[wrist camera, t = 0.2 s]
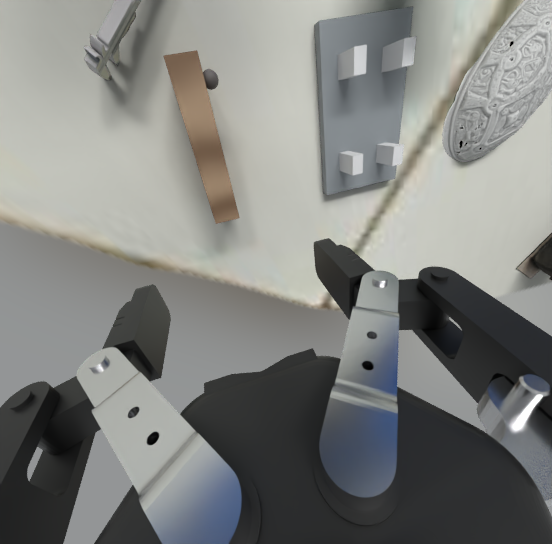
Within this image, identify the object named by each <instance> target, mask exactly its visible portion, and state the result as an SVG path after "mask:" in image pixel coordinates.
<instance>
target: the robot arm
mask: <svg viewBox="0 0 552 544" xmlns="http://www.w3.org/2000/svg"><path fill="white" fill-rule="evenodd" d="M314 256H315V268H316V272H317V275H318V278H319V279H320V281H321V282H322V283H323V285H324V286H325V287H326V289H327V290H328V292H329V293H330V294H331V296H332V297H333V298H334V300H335V301H336V303H337V304H338V305H339V307H340V308H341V309H342V311H343V312H344V314H345V315H346V316H347V318H348V319H349V320H350V322H349V327H348V330H347V335H346V339H345V343H344V347H343V351H342V356H341V359H339V358H335V357H330V356H316V354H315V352H314V350H313V349H309V350H306V351H303V352H300V353H297V354H294V355H290V356H287V357H286V358H284V359H282V360H280V361H279V362H277V363H275V364H274V365H272V366H270V367H269V368H267V369H265V370H263V371H261V372H252V373H240V374H231V375H228V376H225V377H222V378H219V379H216V380H212V381H209V382H206V383H204V393H203V394H202V395H200V396H199V397H197V398H196V399H195V400H193V401H192V402H191V403H190V404H189V405H188V406H187V407H186V408H185V409H184V410H183V411H182V412H181V414H179V413H178V412H177V411H176V410H175V409H174V407H173V406H172V405H171V404H170V403H169V402H168V401H167V400H166V399H165V398H164V397H163V396H162V394H161V393H160V392H159V391H158V390H157V389H156V388H155V387H154V386H153V385H152V384H151V383H150V381H152V380H155V379H158V378H161V375H162V369H163V363H164V357H165V351H166V345H167V339H168V333H169V326H170V321H171V319H170V313H169V310H168V308H167V306H166V304H165V302H164V300H163V298H162V297H161V295H160V293H159V291H158V289H157V288H156V286H155V285H149V286H145V287H142V288H138V289H136V290H135V292H134V295H133V297H132V300H131V301H129V302H127V303H126V304H125V305H124V306H123V307H122V308H121V310H120V311H119V313H118V315H117V317H116V320H115V322H114V324H113V327H112V329H111V331H110V333H109V336H108V338H107V340H106V342H105V344H104V347H103V349H102V350H100V351H98V352H96V353H94V354H93V355H91V356H90V357H89V358H87V359H86V360H85V361H84V362H83V363H82V365H81V366H80V368H79V369H78V371H77V376H76V377H74V378H72V379H70V380H68V381H66V382H64V383H62V384H60V385H58V386H56V387H55V388H53V387H51V386H50V385H49V384H48V383H47V382H36V383H33V384H30V385H28V386H26V387H24V388H23V389H21V390H20V391H18V392H17V393H15V394H14V395H13V396H11V397H10V398H9V399H8V400H7V401H6V402H5V403H4V404H3V405H2V406H1V408H0V544H63V542H64V539H65V536H66V532H67V529H68V525H69V522H70V518H71V515H72V511H73V508H74V505H75V501H76V498H77V494H78V490H79V487H80V484H81V481H82V477H83V474H84V470H85V467H86V463H87V460H88V456H89V453H90V450H91V446H92V443H93V439H94V436H95V433H96V432H97V431H98V430H100V429H102V431H103V433H104V434H105V436H106V438H107V440H108V441H109V443H110V445H111V447H112V448H113V450H114V451H115V454H116V455H117V457H118V459H119V461H120V462H121V464H122V465H123V467H124V469H125V471H126V473H127V474H128V476H129V478H130V480H131V481H132V483H133V485H132V487H131V488H130V490H129V492H128V493H127V495H126V496H125V498H124V499H123V501H122V502H121V504H120V505H119V507H118V508H117V510H116V511H115V513H114V514H113V516H112V518H111V519H110V520H109V522H108V523H107V525H106V527H105V528H104V530H103V531H102V533H101V534H100V536H99V537H98V539H97V540H96V542H95V543H94V544H552V516H551V514H550V512H549V509H548V507H550V506H552V336H550V335H549V334H547V333H546V332H544V331H543V330H541V329H540V328H538V327H537V326H535V325H534V324H532V323H531V322H529V321H528V320H526V319H525V318H523V317H522V316H520V315H519V314H517V313H515V312H514V311H513V310H511V309H510V308H508V307H507V306H505V305H504V304H502V303H501V302H499V301H498V300H496V299H495V298H493V297H492V296H490V295H489V294H487V293H486V292H484V291H483V290H481V289H480V288H478V287H477V286H475V285H474V284H472V283H471V282H469V281H468V280H466V279H465V278H463V277H462V276H460V275H459V274H457V273H456V272H454V271H452V270H450V269H447V268H443V267H427V268H424V269H422V270H421V271H420V272H419V276H418V279H406V280H398V278H397V277H396V276H395V275H393V274H391V273H389V272H385V271H375V270H374V269H373V268H372V267H370V266H369V265H368V264H367V263H366V262H365V261H364V260H362V259H361V258H360V257H359V256H358V255H357V254H355V253H354V252H353V251H352V250H351V249H350V248H348V247H345V246H343V245H338V246H337V245H336V244H335V243H334V242H333V241H332V240H330V239H329V238H327V239H324V240H320V241H316V242H314ZM449 317H451V318H452V319H453V320H454V321H455V322H456V323H457V324H458V325H459V326H460V327H461V329H462V330H460V329H459V328H458V327H457V326H456V325H455V324H454V323H453V322H451V321H450V320H449ZM399 330H413V331H414V332H415V334H416V335H417V336H418V337H419V338H420V339H421V340H422V341H423V343H424V344H425V345H426V346H427V347H428V348H429V349H430V350H431V351H432V352H433V354H434V355H435V356H436V357H437V358H438V359H439V361H440V362H441V363H442V364H443V365H444V366H445V367H446V368H447V369H448V371H450V373H451V374H452V375H453V376H454V377H455V378H456V380H457V381H458V382H459V383H460V384H461V385H462V386H463V387H464V388H465V390H466V391H467V392H468V393H469V394H470V395H471V396H472V397H473V399H474V400H475V401H476V402H477V403H478V405H477V414H478V417H479V419H480V421H481V423H482V424H483V426H484V427H485V429H486V433H485V432H484V431H482V430H480V429H479V428H477V427H475V426H473V425H471V424H469V423H467V422H465V421H463V420H461V419H459V418H457V417H455V416H453V415H452V414H449V413H447V412H445V411H444V410H442V409H440V408H438V407H436V406H434V405H432V404H430V403H428V402H426V401H424V400H422V399H420V398H418V397H416V396H414V395H412V394H410V393H408V392H406V391H405V390H403V389H401V388H399V387H397V378H398V377H397V376H398V343H399ZM37 447H39V448H41V449H42V450H43V452H42V454H41V457H40V459H39V461H38V464H37V466H36V468H35V470H34V473H33V475H32V477H31V479H30V482H29V481H28V478H27V468H28V466H29V463H30V461H31V459H32V457H33V454H34V452H35V450H36V448H37Z"/></svg>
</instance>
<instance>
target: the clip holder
mask: <svg viewBox="0 0 552 544" xmlns="http://www.w3.org/2000/svg"><path fill="white" fill-rule="evenodd" d="M412 13H413V7H406V8H400V9H393V10H387V11H380V12H373V13H367V14H360V15H354V16H347V17H341V18H334V19H327V20H321V21H318V22H317V23H316V24H315V25H314V28H315V47H316V66H317V84H318V103H319V122H320V141H321V160H322V179H323V193H324V194H326V195H330V194H334V193H338V192H342V191H346V190H350V189H354V188H359V187H363V186H367V185H371V184H375V183H379V182H383V181H387V180H391V179H395V175H396V166H397V165H399V164H402V158H403V149H404V144H399V137H400V127H401V118H402V108H403V99H404V89H405V80H406V70H407V66H411V65H413V63H414V54H415V45H416V37H417V36H415V37H410V32H411V23H412Z"/></svg>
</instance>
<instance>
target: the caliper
mask: <svg viewBox="0 0 552 544" xmlns="http://www.w3.org/2000/svg"><path fill="white" fill-rule="evenodd" d="M140 2H141V0H115V1H114V3H113V5H112V7H111V9H110V11H109V13H108V14H107V16H106V18H105V20H104V22H103V24H102V25H101V27H100V29H99V31H98V33H97V39H96V38H95V37H94V36H93V35H92V34H90V44H91V47H92V48H91V47H90V46H84V49H85V51H86V52H87V54H86V56H85V58H84V60H85V61H86V63H87V65H88V66H89V68H90V69H91V70H92V71H94V72H95V73H96V74H98V75H99V76H100V77H102V78H104V79H106V80H110V79H111V78H112V76H111V74H110V72H109V70H108V68H107V66H106V63H107V62H108V60H109V59H110V60H111V61H112V62H113V63H114V64H116V65H118V63H119V43H120V41H121V39H122V38H123V37H124V36H125V34H126V33H127V32H128V30H129V28H130V25H131V24H132V22H133V21H134V19H135V17H136V13H135V11H136V9H137V7H138V5H139V4H140Z"/></svg>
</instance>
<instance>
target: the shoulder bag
mask: <svg viewBox="0 0 552 544" xmlns="http://www.w3.org/2000/svg"><path fill="white" fill-rule="evenodd" d="M517 269H519V270H520V271H521V272H523V273H524V274H525V275H527V276H528V277H529V278H532V277H533V276H534V275H536V274H537V273H538V272H539V271H540V270H542V271H543V272H545V273H546V274H548V275H550V276H551V277H550V280H552V234H551V235H550V236H549V237H548V238H547V239H546V240H545V241H544V242H543V243H542V244H541V245H540V246H539V247H538V248H537V249H536V250H535V251H534V252H533V253H532V254H531V255H530V256H529V257H528V258H527V259H526V260H524V262H522V264H521V265H520V266H519V267H518V268H517Z"/></svg>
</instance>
